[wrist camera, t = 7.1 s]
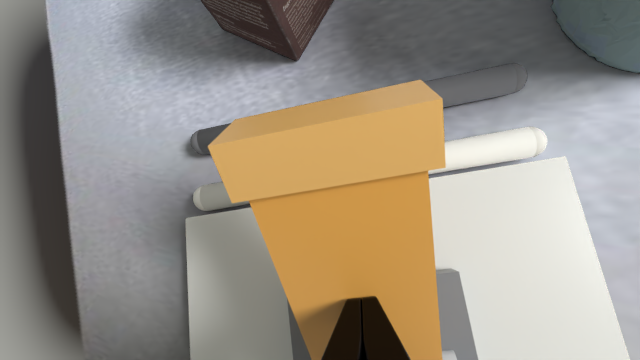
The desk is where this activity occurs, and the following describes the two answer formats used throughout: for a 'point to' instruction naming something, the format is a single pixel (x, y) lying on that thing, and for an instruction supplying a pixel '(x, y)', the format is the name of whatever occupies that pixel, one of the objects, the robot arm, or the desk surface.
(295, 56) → the box
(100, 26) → the desk surface
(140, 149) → the desk surface
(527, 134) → the rods
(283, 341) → the breaker panel
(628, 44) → the grey-green cup
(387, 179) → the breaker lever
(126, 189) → the desk surface
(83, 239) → the desk surface
